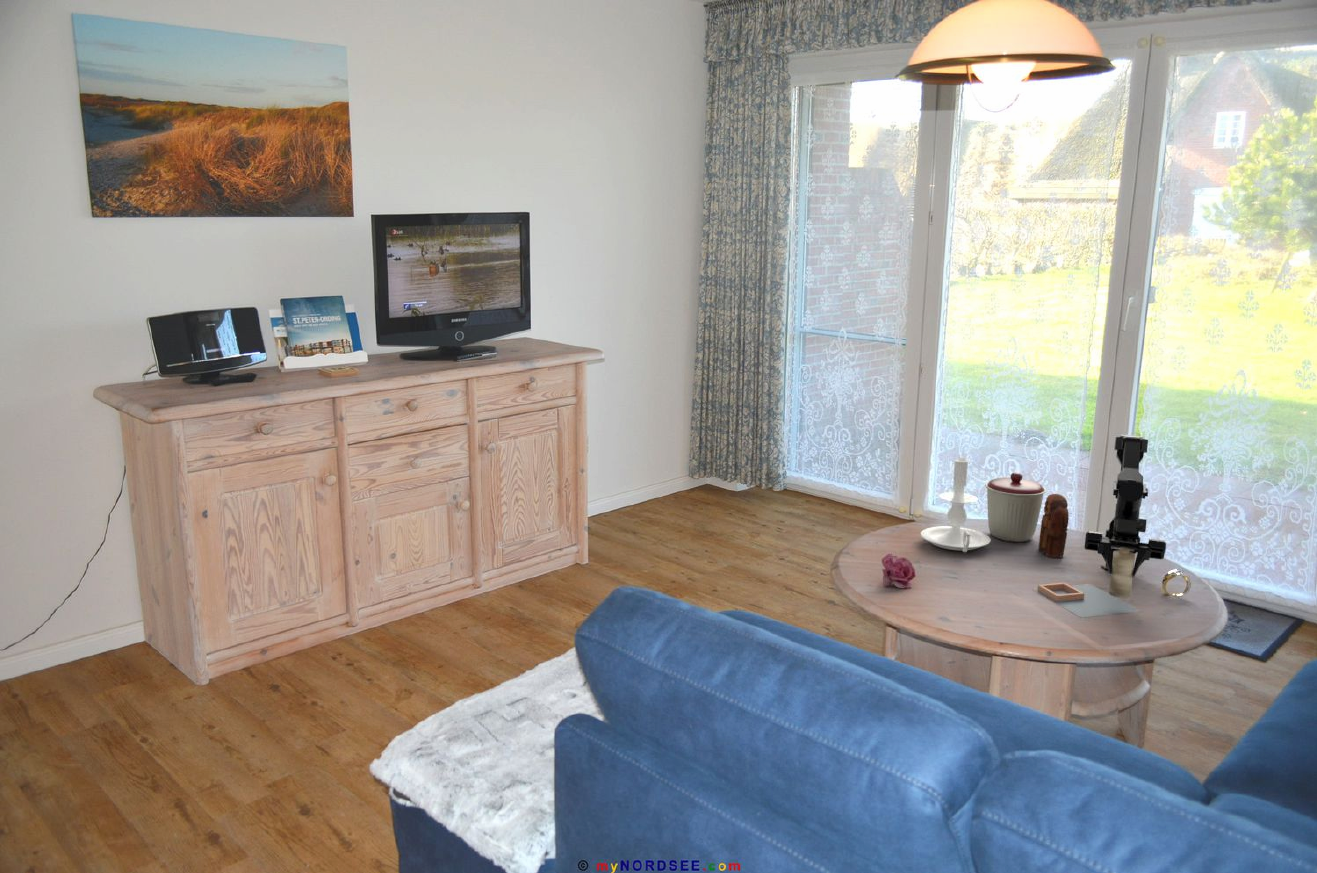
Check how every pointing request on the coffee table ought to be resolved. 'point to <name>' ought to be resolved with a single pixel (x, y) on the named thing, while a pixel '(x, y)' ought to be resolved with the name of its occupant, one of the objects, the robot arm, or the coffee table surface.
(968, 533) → the candlestick
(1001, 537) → the canister
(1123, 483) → the robot arm
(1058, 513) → the wooden figurine
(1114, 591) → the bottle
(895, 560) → the flower
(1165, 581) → the ring
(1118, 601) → the board
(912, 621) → the coffee table surface
